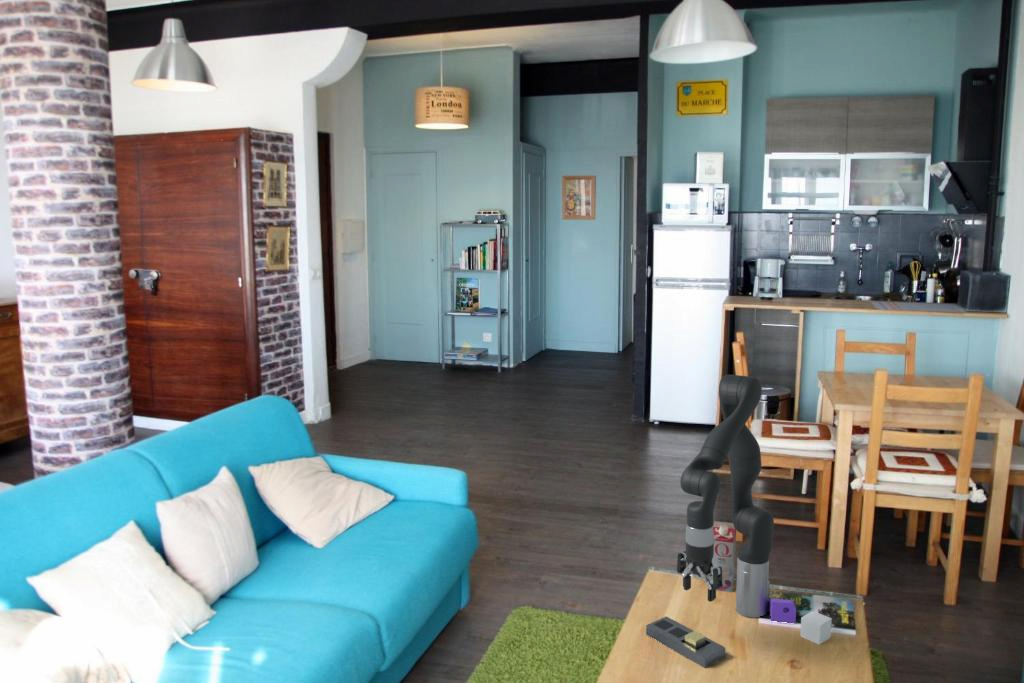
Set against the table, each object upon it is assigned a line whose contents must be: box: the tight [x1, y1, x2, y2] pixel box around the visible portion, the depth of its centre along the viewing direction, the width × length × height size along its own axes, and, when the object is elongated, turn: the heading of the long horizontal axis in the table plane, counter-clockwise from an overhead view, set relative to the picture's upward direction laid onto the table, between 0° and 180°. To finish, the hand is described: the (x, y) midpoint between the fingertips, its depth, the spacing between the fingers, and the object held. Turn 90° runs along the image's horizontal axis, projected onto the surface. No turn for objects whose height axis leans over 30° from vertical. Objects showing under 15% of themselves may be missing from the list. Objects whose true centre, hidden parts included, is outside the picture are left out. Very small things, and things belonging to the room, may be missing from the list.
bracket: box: [768, 598, 797, 624], centre depth 257 cm, size 12×7×7 cm, turn 170°
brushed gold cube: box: [685, 630, 706, 650], centre depth 237 cm, size 4×5×5 cm
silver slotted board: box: [645, 615, 726, 669], centre depth 240 cm, size 8×22×3 cm, turn 37°
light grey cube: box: [800, 610, 833, 645], centre depth 243 cm, size 6×6×6 cm
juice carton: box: [710, 520, 737, 593], centre depth 274 cm, size 7×7×22 cm
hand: (699, 594), depth 235 cm, fingers open, 8 cm apart
